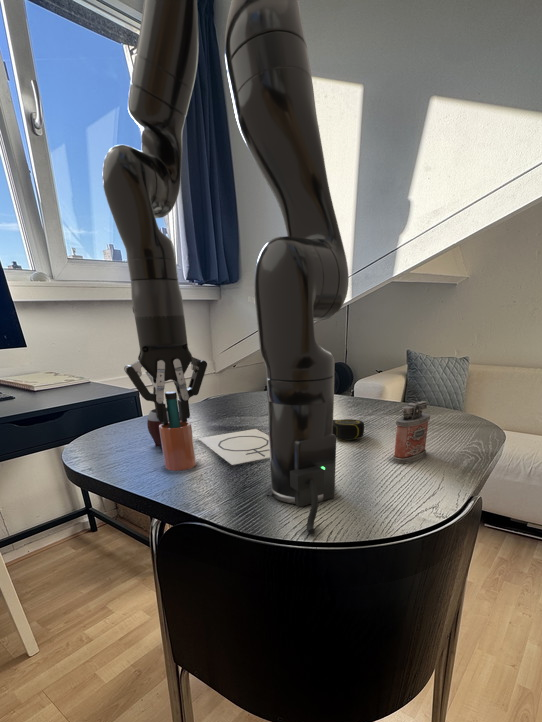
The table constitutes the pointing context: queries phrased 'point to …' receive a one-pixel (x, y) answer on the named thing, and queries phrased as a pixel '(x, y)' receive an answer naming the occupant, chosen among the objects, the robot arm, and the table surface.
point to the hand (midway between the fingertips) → (174, 422)
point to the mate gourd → (155, 423)
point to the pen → (172, 409)
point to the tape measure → (348, 429)
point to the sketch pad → (240, 446)
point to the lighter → (411, 433)
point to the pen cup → (177, 446)
